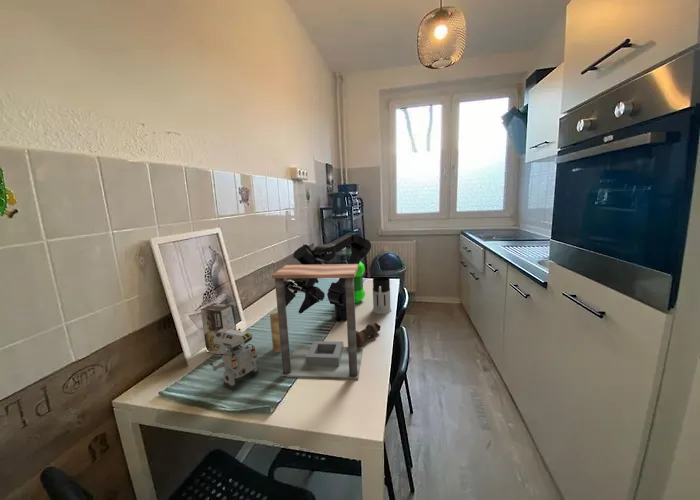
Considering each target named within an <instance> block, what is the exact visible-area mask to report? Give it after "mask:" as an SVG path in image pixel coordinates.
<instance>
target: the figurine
mask: <svg viewBox="0 0 700 500" xmlns="http://www.w3.org/2000/svg"><path fill="white" fill-rule="evenodd" d="M252 340H253V335H252V334H251V333H249V332H246V331H241V328H238V330H237V329H236V330H232V329H227V328H222V329H220V330H218V331H217V333H216V335H215V337H214V339H213V342H214V344H219V345H223V346H228V347H227V348H228V350H227V351H226V352H224V353H223V355H221V358H222V362H220V363H219V364H217V365H215V364H214V363H213V362H212V361H211V360H210V361H209V366H211V367H212V370H213V372H215V371H217V370H219V369H222V368H224V372H223V386H224V387H225V386H226V389H229V390H231V389H232V390H231V391H233V390H235V389H236V388H238V387H237V384H236V382H235V381H236V380H235V379H237V378H241V377H243V376H245V375H247V374H249V373H250V374H251V375H252V374H253V375H252V376H254V375H255V376H257V375H259V370H258V365H257V362H256V358H257V357H258V355H257V352H256V347H255V345H253V344H251V343H250V342H251V341H252ZM246 344H247V345H246Z"/></svg>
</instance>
